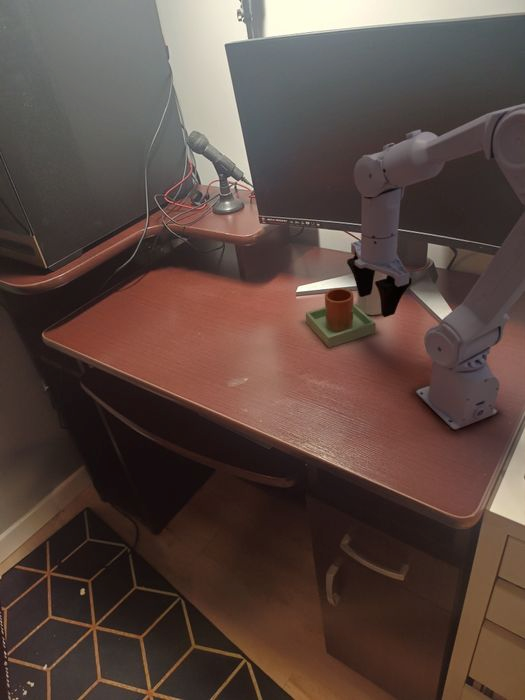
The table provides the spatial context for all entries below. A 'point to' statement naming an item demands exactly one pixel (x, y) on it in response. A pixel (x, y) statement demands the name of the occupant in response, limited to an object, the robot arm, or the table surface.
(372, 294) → the can
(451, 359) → the robot arm
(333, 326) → the cup
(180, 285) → the table surface
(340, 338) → the tray
